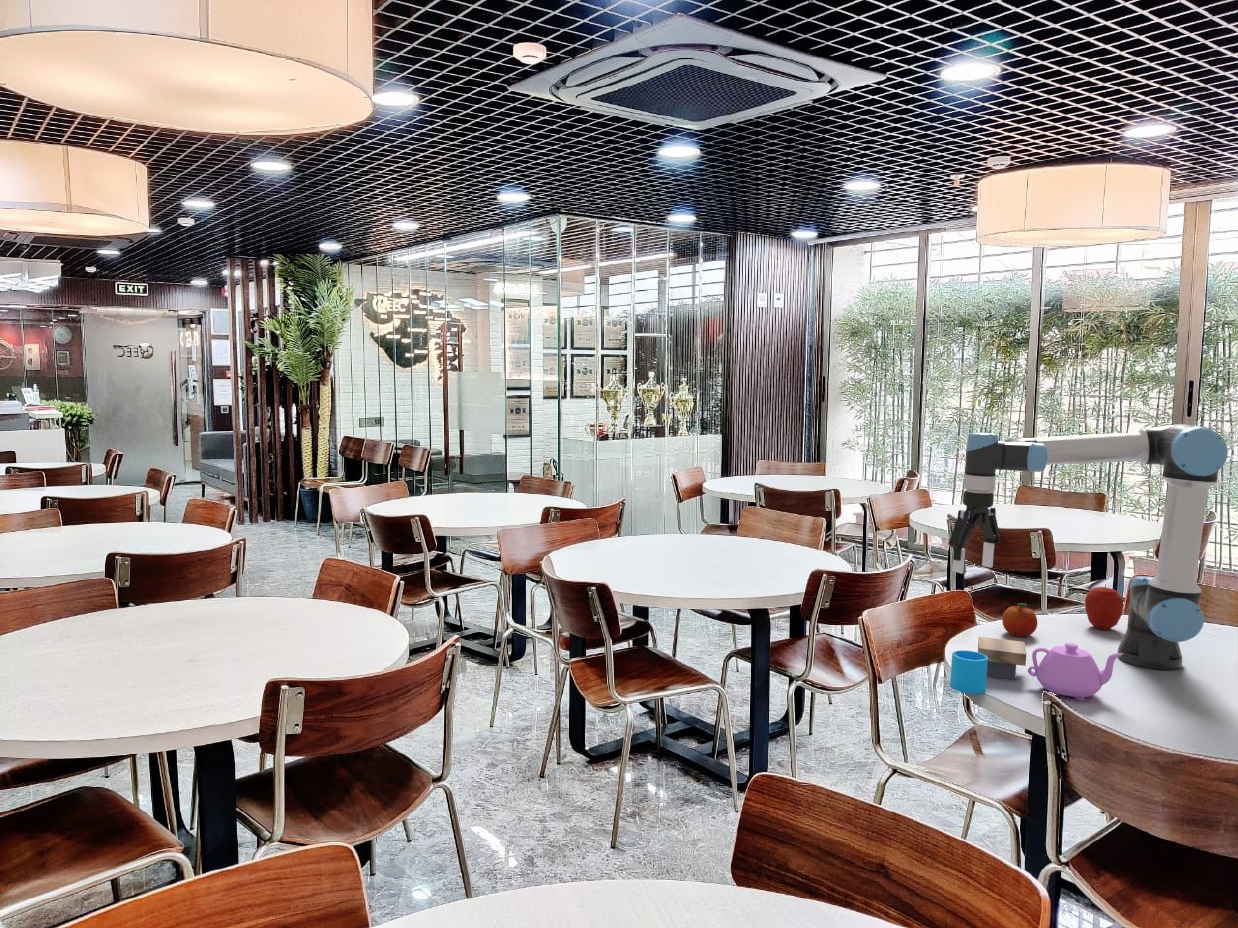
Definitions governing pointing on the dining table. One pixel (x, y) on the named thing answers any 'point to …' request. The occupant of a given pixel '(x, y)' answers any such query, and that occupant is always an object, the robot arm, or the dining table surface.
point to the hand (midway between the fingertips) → (972, 569)
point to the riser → (1001, 670)
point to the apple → (1103, 607)
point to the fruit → (1019, 620)
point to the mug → (968, 672)
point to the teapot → (1071, 671)
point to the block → (1003, 650)
